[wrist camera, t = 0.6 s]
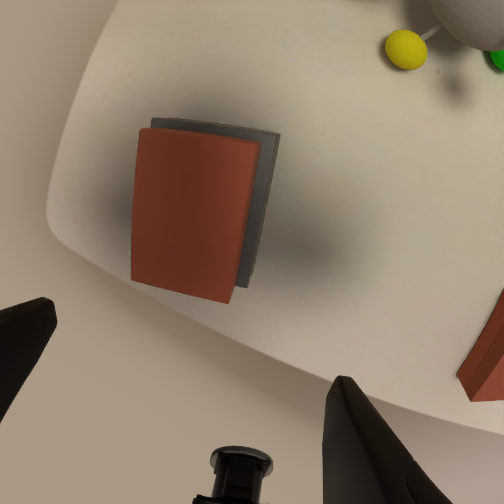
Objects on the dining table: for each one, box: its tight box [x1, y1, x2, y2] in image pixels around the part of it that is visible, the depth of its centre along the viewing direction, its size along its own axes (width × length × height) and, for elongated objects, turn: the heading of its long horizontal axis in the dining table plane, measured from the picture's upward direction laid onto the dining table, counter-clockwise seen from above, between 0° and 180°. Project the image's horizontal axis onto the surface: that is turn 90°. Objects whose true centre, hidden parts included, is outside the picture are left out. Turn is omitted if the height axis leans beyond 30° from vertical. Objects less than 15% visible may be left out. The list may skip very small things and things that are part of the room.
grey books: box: [151, 118, 280, 288], centre depth 19 cm, size 9×7×4 cm
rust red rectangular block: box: [131, 128, 262, 304], centre depth 16 cm, size 8×6×2 cm
